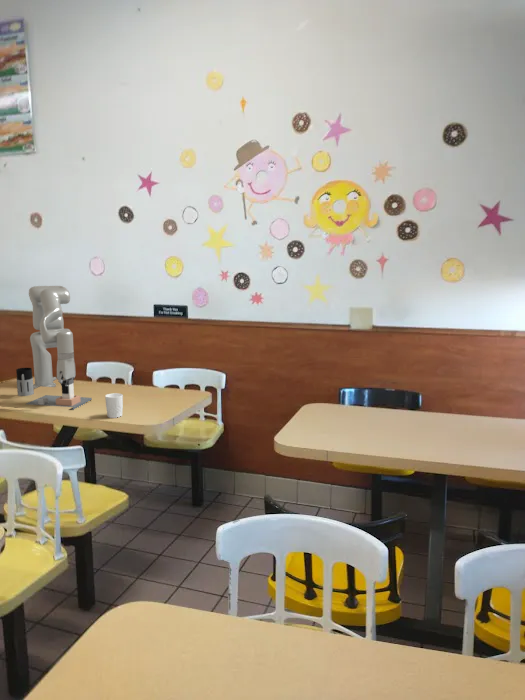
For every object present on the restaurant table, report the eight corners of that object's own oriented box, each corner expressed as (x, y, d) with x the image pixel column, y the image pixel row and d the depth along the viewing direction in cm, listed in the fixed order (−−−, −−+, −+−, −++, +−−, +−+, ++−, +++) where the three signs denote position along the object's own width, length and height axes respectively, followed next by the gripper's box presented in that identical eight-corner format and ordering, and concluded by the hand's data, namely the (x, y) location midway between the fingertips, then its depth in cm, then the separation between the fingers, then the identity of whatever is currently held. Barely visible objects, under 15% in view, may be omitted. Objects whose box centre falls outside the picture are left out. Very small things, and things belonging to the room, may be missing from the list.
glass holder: (35, 394, 293) (33, 367, 291) (33, 400, 280) (31, 372, 277) (17, 395, 291) (15, 367, 288) (14, 402, 277) (12, 373, 275)
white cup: (103, 418, 251) (102, 397, 249) (110, 413, 259) (109, 392, 257) (119, 418, 250) (118, 397, 248) (126, 414, 258) (125, 393, 256)
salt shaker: (66, 398, 272) (65, 378, 271) (74, 398, 272) (73, 379, 270) (62, 400, 268) (61, 380, 267) (69, 400, 268) (68, 380, 266)
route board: (45, 397, 286) (45, 389, 285) (91, 400, 281) (91, 392, 280) (25, 407, 269) (24, 398, 268) (73, 410, 264) (72, 401, 263)
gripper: (67, 352, 275) (69, 388, 278) (49, 358, 259) (51, 396, 262) (81, 353, 274) (83, 388, 277) (63, 359, 258) (65, 397, 261)
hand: (67, 392), depth 269 cm, fingers closed on salt shaker, 4 cm apart
